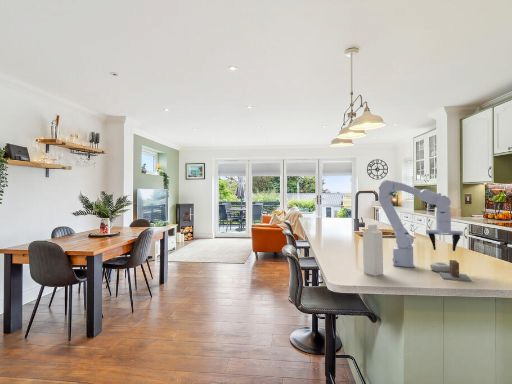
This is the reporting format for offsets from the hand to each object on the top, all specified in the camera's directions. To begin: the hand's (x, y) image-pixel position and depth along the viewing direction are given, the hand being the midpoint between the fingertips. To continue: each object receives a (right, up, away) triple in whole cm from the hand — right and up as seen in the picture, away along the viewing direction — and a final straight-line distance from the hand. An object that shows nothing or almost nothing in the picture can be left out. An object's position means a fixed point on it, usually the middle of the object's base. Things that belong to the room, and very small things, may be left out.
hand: (444, 250), depth 137 cm
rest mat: (-3, -9, -12) cm, 16 cm away
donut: (+3, -8, 0) cm, 8 cm away
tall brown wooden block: (-3, -9, -12) cm, 15 cm away
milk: (-35, -10, -5) cm, 37 cm away
